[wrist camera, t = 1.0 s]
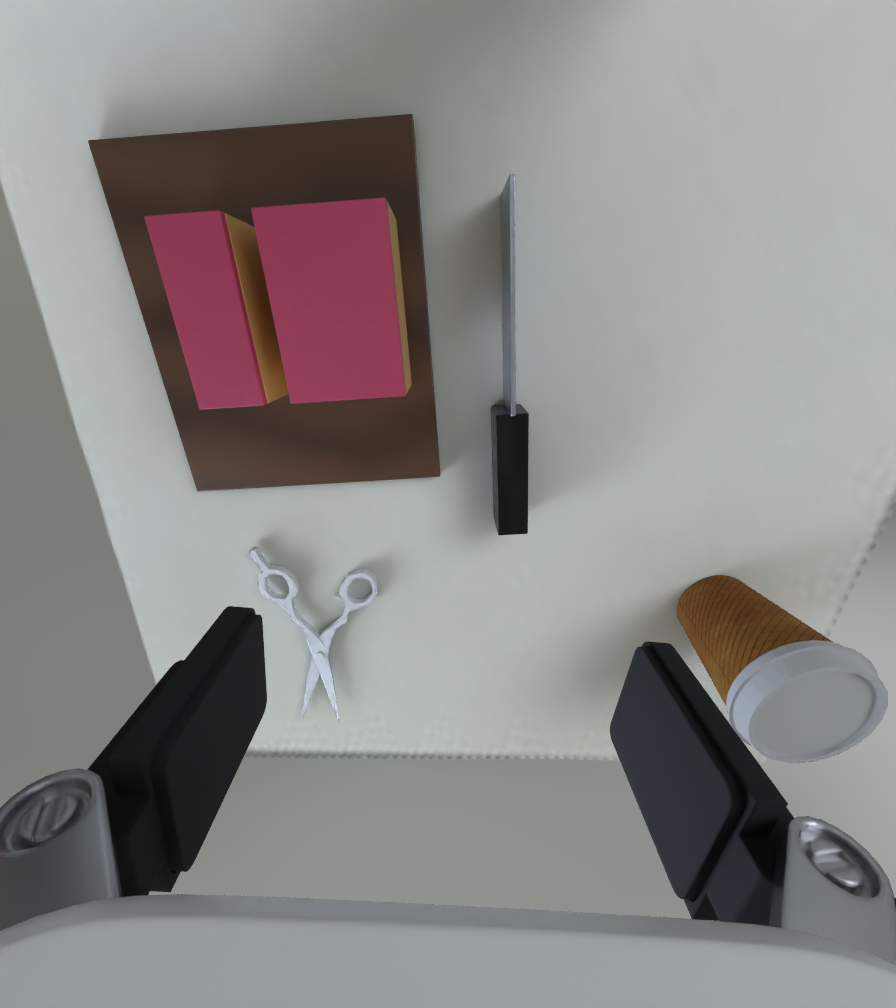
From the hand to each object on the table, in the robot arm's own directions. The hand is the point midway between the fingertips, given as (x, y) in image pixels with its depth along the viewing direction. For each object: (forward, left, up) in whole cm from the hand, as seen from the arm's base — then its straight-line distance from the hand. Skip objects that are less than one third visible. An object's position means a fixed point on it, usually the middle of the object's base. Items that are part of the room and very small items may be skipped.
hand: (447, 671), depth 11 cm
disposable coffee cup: (+17, +23, -24) cm, 37 cm away
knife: (-4, +5, -24) cm, 25 cm away
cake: (-9, -6, -23) cm, 25 cm away
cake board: (-8, -10, -24) cm, 27 cm away
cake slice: (-9, -13, -23) cm, 28 cm away
